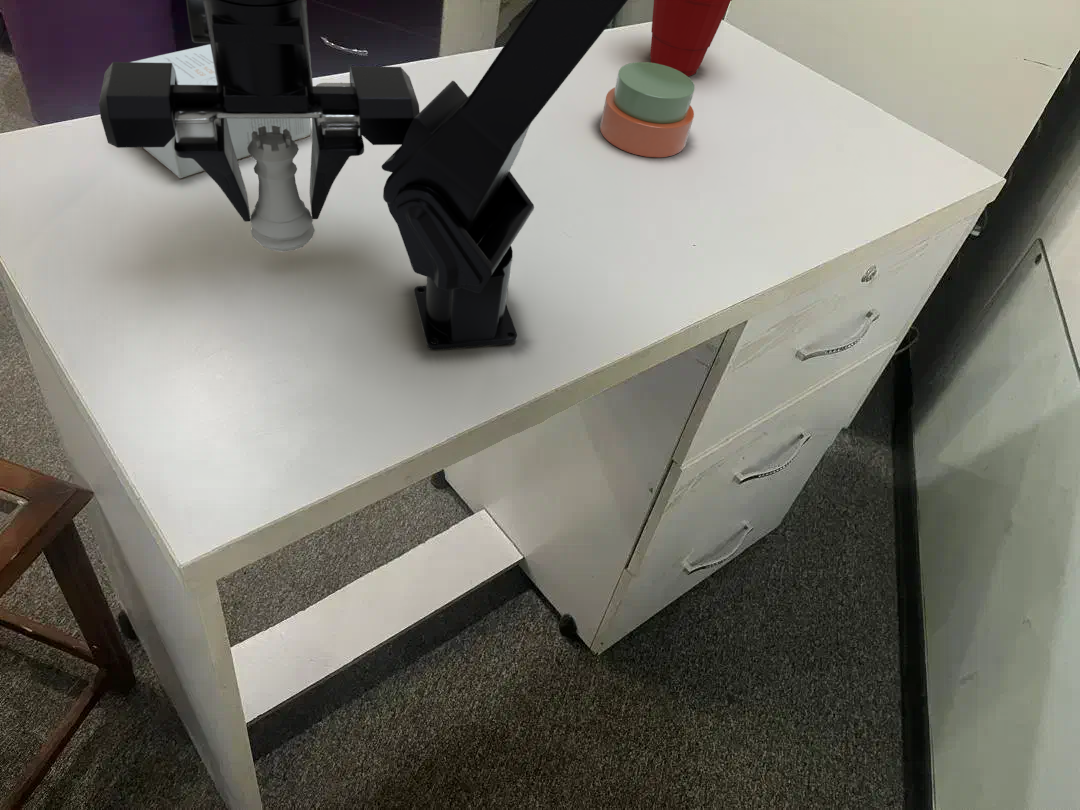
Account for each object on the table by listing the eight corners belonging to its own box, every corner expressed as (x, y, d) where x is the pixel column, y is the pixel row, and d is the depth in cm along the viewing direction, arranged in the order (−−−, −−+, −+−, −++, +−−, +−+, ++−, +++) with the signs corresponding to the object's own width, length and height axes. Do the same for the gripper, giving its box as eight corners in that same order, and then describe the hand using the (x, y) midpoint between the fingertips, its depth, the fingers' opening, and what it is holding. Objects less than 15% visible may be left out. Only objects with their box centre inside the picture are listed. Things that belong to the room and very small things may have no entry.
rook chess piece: (300, 260, 56) (289, 159, 50) (240, 245, 56) (223, 143, 50) (324, 226, 59) (317, 127, 53) (268, 212, 59) (254, 112, 53)
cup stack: (699, 157, 79) (716, 102, 74) (616, 158, 76) (629, 101, 72) (666, 112, 84) (681, 59, 80) (588, 112, 82) (599, 57, 77)
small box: (260, 100, 74) (127, 137, 67) (253, 32, 70) (108, 63, 62) (313, 137, 71) (179, 180, 64) (308, 69, 66) (164, 107, 59)
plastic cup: (715, 54, 97) (747, -52, 88) (720, 93, 89) (756, -19, 81) (629, 38, 96) (653, -70, 88) (628, 76, 89) (653, -38, 80)
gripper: (396, -55, 52) (395, 156, 64) (87, -73, 47) (146, 159, 59) (424, 14, 45) (418, 237, 57) (64, 1, 40) (136, 249, 52)
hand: (281, 217), depth 56 cm, fingers closed on rook chess piece, 4 cm apart
